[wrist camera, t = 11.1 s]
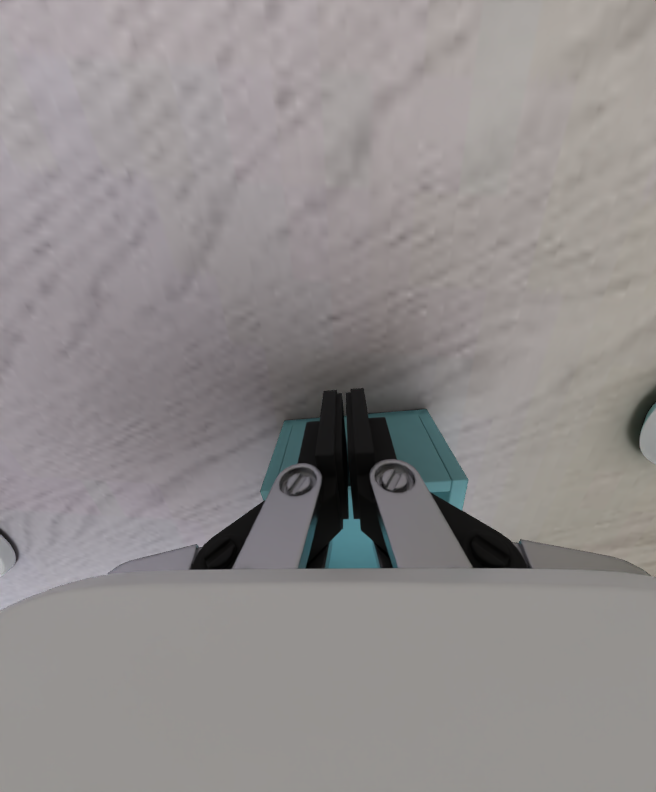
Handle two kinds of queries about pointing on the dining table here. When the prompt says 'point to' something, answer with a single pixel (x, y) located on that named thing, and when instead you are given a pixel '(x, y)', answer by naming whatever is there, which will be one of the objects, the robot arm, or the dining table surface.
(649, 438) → the can
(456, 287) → the dining table surface
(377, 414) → the storage box
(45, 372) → the dining table surface
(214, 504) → the dining table surface
